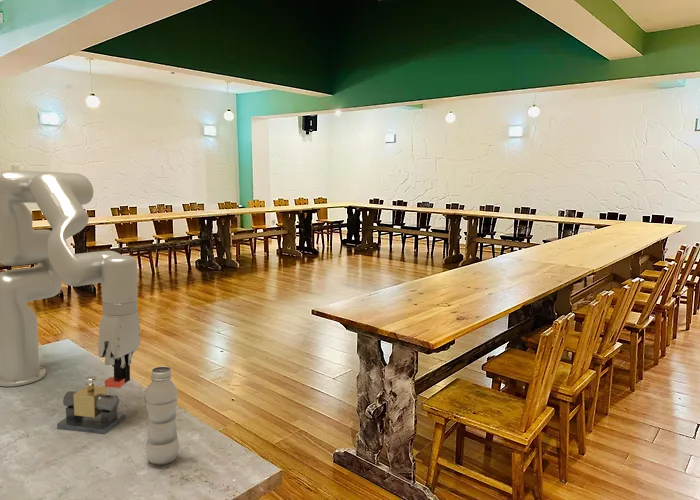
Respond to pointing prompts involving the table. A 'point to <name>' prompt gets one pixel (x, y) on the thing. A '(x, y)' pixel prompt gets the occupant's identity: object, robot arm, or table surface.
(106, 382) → the lever
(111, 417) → the valve
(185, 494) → the table surface
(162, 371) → the plastic bottle
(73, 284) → the robot arm
